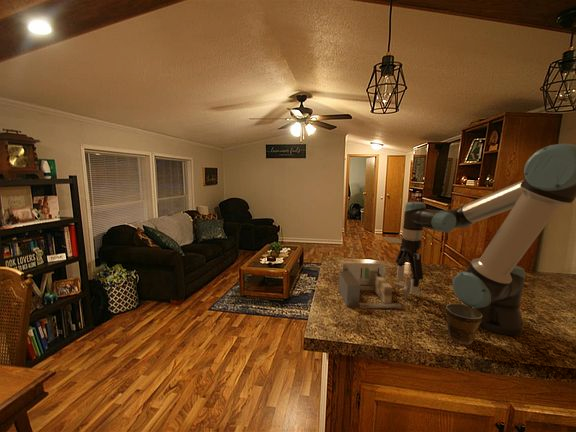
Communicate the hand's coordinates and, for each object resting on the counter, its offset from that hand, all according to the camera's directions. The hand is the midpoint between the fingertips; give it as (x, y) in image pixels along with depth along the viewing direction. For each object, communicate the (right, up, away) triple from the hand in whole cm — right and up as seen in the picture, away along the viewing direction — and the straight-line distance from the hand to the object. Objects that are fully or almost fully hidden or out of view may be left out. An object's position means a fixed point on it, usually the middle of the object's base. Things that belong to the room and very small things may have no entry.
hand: (406, 286), depth 119 cm
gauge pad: (-10, -4, +2) cm, 11 cm away
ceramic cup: (+5, -10, -27) cm, 29 cm away
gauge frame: (-17, -5, +1) cm, 18 cm away
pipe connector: (0, -6, 0) cm, 6 cm away
